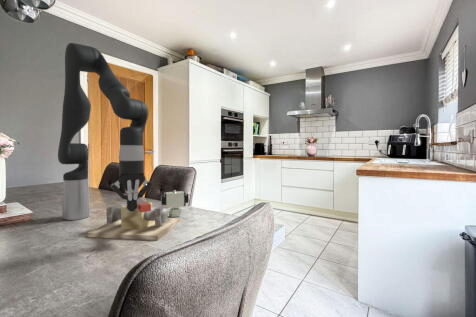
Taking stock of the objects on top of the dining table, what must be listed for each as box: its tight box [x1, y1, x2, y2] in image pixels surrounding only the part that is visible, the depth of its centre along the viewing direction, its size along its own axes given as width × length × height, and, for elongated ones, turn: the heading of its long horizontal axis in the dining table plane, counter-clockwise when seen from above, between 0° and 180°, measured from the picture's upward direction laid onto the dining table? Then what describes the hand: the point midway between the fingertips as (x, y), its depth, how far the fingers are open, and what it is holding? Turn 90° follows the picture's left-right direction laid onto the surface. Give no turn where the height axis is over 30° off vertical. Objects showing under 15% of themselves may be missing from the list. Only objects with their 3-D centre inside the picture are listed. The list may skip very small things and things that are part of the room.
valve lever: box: [137, 197, 151, 212], centre depth 84 cm, size 16×3×2 cm, turn 34°
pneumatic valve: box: [160, 189, 190, 218], centre depth 107 cm, size 6×12×12 cm, turn 111°
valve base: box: [87, 202, 181, 241], centre depth 91 cm, size 26×20×10 cm
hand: (131, 210), depth 79 cm, fingers closed
